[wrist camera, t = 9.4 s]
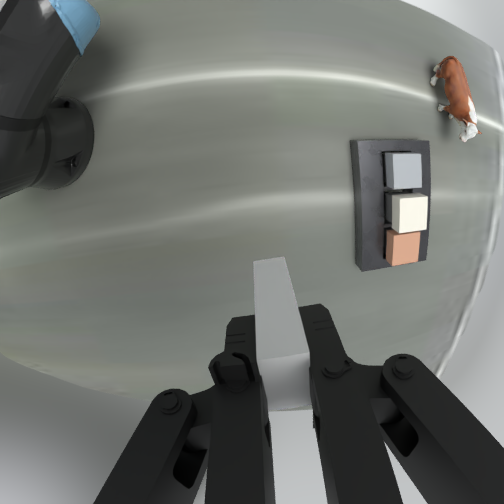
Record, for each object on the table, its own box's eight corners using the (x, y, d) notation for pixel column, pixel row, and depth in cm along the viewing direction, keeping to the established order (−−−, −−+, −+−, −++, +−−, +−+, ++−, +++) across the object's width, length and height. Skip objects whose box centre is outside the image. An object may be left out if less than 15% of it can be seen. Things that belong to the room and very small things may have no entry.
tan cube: (378, 224, 39) (393, 235, 34) (403, 221, 39) (420, 231, 34) (378, 251, 41) (392, 266, 36) (402, 248, 40) (417, 261, 36)
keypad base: (349, 140, 35) (357, 140, 32) (418, 139, 34) (429, 140, 31) (355, 263, 42) (361, 271, 39) (417, 252, 41) (426, 260, 39)
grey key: (375, 151, 35) (392, 154, 30) (402, 150, 34) (420, 153, 30) (377, 182, 36) (394, 189, 32) (403, 180, 36) (421, 187, 31)
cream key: (382, 190, 35) (399, 198, 31) (408, 188, 35) (427, 196, 30) (382, 221, 37) (399, 233, 32) (408, 218, 37) (426, 229, 32)
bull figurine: (437, 139, 34) (469, 143, 26) (423, 60, 29) (452, 51, 21) (455, 139, 34) (487, 144, 26) (442, 64, 28) (472, 56, 21)
